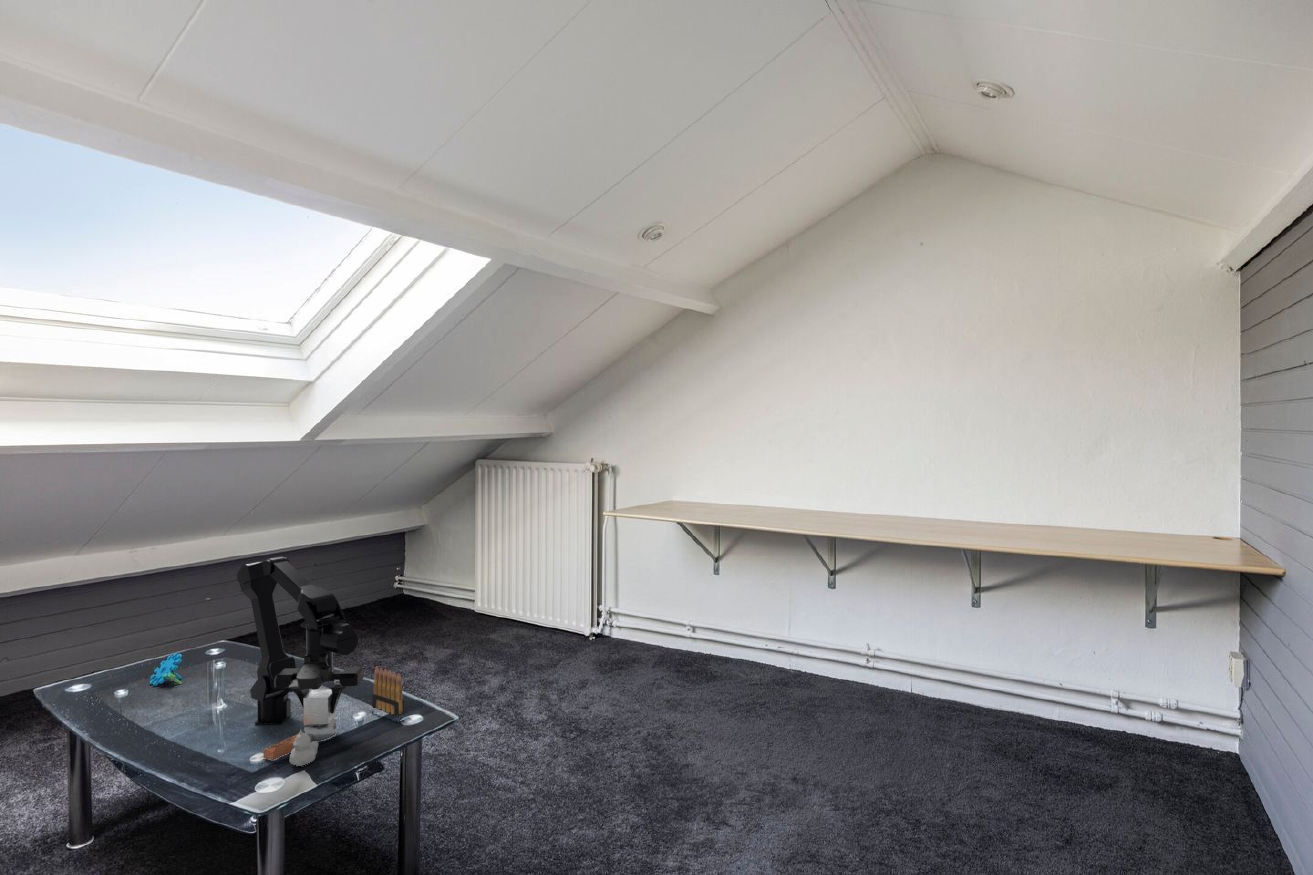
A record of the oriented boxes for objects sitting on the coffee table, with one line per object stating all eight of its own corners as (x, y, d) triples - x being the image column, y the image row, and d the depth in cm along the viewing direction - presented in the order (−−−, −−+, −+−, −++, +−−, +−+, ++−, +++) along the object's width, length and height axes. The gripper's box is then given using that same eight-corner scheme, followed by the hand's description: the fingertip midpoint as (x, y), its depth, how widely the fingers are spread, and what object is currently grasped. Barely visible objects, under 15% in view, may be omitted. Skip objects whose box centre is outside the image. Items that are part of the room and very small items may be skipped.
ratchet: (321, 728, 187) (321, 703, 187) (343, 733, 184) (342, 708, 184) (257, 757, 171) (256, 730, 171) (279, 763, 168) (279, 736, 168)
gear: (145, 674, 220) (174, 646, 223) (162, 685, 223) (191, 657, 226) (151, 690, 211) (181, 660, 215) (168, 701, 215) (198, 672, 218)
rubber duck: (282, 766, 167) (282, 730, 166) (309, 755, 173) (309, 719, 172) (299, 772, 164) (299, 735, 164) (325, 760, 170) (325, 724, 170)
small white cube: (303, 724, 179) (303, 698, 179) (312, 715, 185) (312, 689, 185) (328, 723, 180) (327, 697, 180) (335, 714, 185) (335, 689, 185)
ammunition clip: (371, 713, 197) (371, 666, 196) (378, 710, 198) (377, 664, 198) (398, 722, 191) (397, 674, 190) (404, 720, 192) (404, 672, 192)
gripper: (263, 659, 173) (264, 728, 173) (349, 657, 175) (350, 726, 175) (283, 644, 184) (284, 709, 185) (364, 642, 186) (364, 707, 186)
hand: (320, 713), depth 182 cm, fingers closed on small white cube, 5 cm apart
